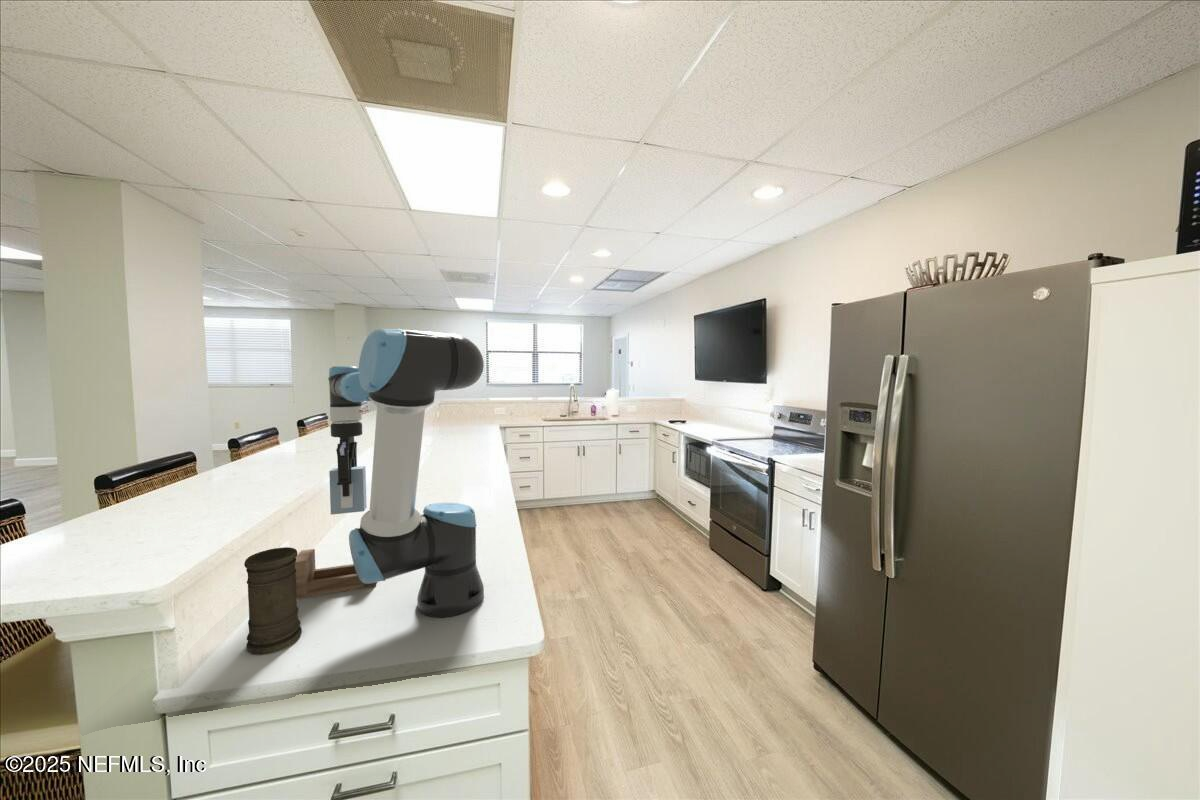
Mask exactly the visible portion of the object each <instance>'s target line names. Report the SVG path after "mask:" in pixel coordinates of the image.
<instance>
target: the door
mask: <svg viewBox="0 0 1200 800" xmlns="http://www.w3.org/2000/svg"><path fill="white" fill-rule="evenodd" d="M366 470H367V469H366V465H361V466H357V467H351V481H352V482H351V483H352V487H353V507H350V508H341V485H337V483H338V467H333V468H331V469H330V470H329V475H328V476H329V497H330V498H329V500H330V501H329V503H330V504H329V505H330V515H341V514H349V513H359V512H361V513H362V512H365V510H366V509H367V477H366V473H367V472H366Z"/></svg>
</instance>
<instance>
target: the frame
mask: <svg viewBox="0 0 1200 800" xmlns="http://www.w3.org/2000/svg"><path fill="white" fill-rule="evenodd" d="M295 569H296V594H297V599H301V598H302V599H303V598H308V597H314V596H322V595H326V594H327V595H328V594H334V593H340V592H346V591H352V590H360V589H367V588H372V587H376V586H377V584H378V582H375V583H370V584H365V583H363V582H362V581H361V580H360V579H359V577H358V575H357V572H356V570H355V567H354V563H351V564H345V565H337V566H330V567H323V568H316V549H315V548H311V549H301V550H300V551H299V553H298V554H297V556H296V563H295Z"/></svg>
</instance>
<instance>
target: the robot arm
mask: <svg viewBox="0 0 1200 800" xmlns="http://www.w3.org/2000/svg"><path fill="white" fill-rule="evenodd" d="M484 362H485V361H484V359H483V354H482V352H481V351H480V349H479V347H478V346H477V345H476V344H475V343H474V342H472V341H471V340H470V339H468V338H467V337H464V336H463V335H460V334H456V333H451V332H437V331H427V330H415V329H404V328H399V327H398V328H378V329H377V328H376V329H374V330H373V331H371V332H369V334H368V336H367V337H366V339H365V340H364V342H363V344H362V348H361V351H360V355H359V361H358V366H354V365H353V366H347V365H346V366H344V365H340V366H339V365H336V366H331V367H329V369H328V379H327V381H328V387H329V421H330V422H332V423H330V436H331V437H332V438H339V443H337V448H336V449H335V451H336V457H337V468H338V483H337V485H341V508H350V507H353V487H352V483H351V482H352V481H351V467H358V463H357V462H358V459H357V456H358V455H357V453H358V452H357V449H358V448H357V446H358V441H355V437H359V436H362V435H363V423H362V419H363V418H362V415H363V414H364V413H365V410H364V409H362V403H365V402H372V403H373V404H374V405H375V406H376V417H375V429H374V430H375V431H374V444H373V457H372V458H373V459H372V472H371V486H370V487H371V488H370V501H369V510H367V511H366V512H365V513H364V514H362V516H361V517H360V522H359V523H360V525H359V528H357V527H356V528H354V529H351V530H350V531H349V535H348V544H349V550H350V555H351V558H352V562H353V563H352V564H354V567H355V570H356V572H357V575H358V577H359V579H360V580H361V581H362V582H363V583H365V584H370V583H375V582H377V583H378V582H385V581H386V580H388V579H392V578H395V577H397V576H401V575H404V574H407V573H411V572H415V571H417V570H421V569H424V575H423V577H422V580H421V584H420V587H419V590H418V594H417V599H416V600H417V605H416V606H417V609H418V611H419V612H420V613H422V614H423V615H425V616H429V617H435V618H444V617H445V618H446V617H453V616H458V615H461V614H464V613H467V612H469V611H471V610H473V609H475V608H476V607H477V606H478V605H479V604H480V603H481V602H482V601H483V599H484V596H485V593H484V592H485V589H484V588H485V587H484V586H485V585H484V583H483V581H482V578H481V575H480V572H479V569H478V566H477V522H476V519H477V518H476V512H475V510H474V508H472V507H471V506H470V505H468V504H464V503H459V502H458V503H457V502H436V503H429V504H428V505H425V506H424V508H423V510H422V513H423V514H421V513H420V512H419V510H417V509H416V499H417V492H418V491H417V490H418V480H419V472H420V471H419V470H420V462H421V461H420V460H421V451H422V441H423V433H424V431H423V430H424V421H425V412H426V409H427V408H429V407H430V406H432V405H433V403H434V402H435V396H436V395H435V394H436V392H438V391H452V390H459V389H466V388H469V387H471V386H473V385H474V384H476V383H477V382H478V380H479V379H480V378H481V376H482V374H483V373H484V366H485V365H484V364H485V363H484Z"/></svg>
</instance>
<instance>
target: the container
mask: <svg viewBox="0 0 1200 800" xmlns="http://www.w3.org/2000/svg"><path fill="white" fill-rule="evenodd" d="M298 554H299V553H298V550H297V549H296V548H294V547H291V546H290V547H286V546H284V547H277V548H270V549H267V550H263V551H259V552H256V553H254V554H252V555H250V556H248V557H247V558H246V559H245V560H244V564H243V566H244V568H245V570H246V573H247V580H246V584H247V598H248V622H247V625H248V634H247V637H246V641H247V642H246V645H245V646H246V651H247V652H248V653H249V654H251V655H257V656H258V655H259V656H262V655H268V654H274V653H277V652H280V651H282V650H285V649H286V648H288V647H291V646H292V645H293V644H296V643H297V641H298V640H299V639H300V638H301V636H302V633H303V631H302V626H301V620H300V619H299V607H298V602H297V601H298V598H297V594H296V569H295V563H296V556H297V555H298Z"/></svg>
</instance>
